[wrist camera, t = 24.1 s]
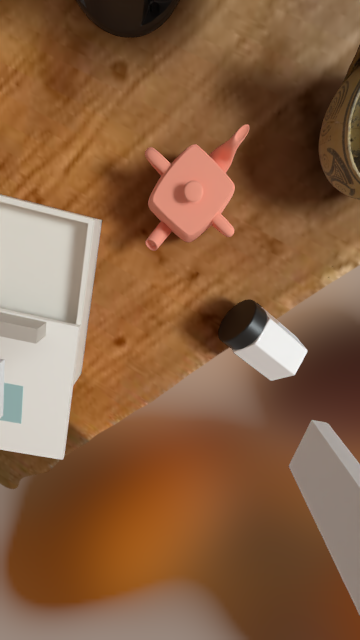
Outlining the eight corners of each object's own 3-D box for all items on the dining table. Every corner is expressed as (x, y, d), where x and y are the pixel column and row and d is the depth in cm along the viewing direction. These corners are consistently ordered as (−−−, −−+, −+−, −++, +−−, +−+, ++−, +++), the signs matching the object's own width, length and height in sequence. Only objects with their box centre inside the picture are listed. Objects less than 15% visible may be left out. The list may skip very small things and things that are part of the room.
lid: (-65, 294, 40) (-88, 300, 37) (80, 325, 42) (72, 334, 39) (-55, 436, 49) (-74, 452, 45) (64, 456, 51) (55, 473, 47)
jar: (308, 331, 44) (261, 289, 40) (308, 373, 39) (254, 329, 36) (265, 347, 51) (221, 312, 47) (261, 384, 46) (211, 348, 42)
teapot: (223, 250, 43) (236, 256, 33) (150, 246, 42) (142, 252, 33) (232, 148, 38) (251, 121, 28) (150, 144, 38) (142, 115, 28)
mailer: (-47, 182, 39) (-71, 177, 35) (102, 220, 41) (94, 219, 37) (-41, 349, 48) (-59, 359, 44) (81, 373, 50) (73, 385, 46)
